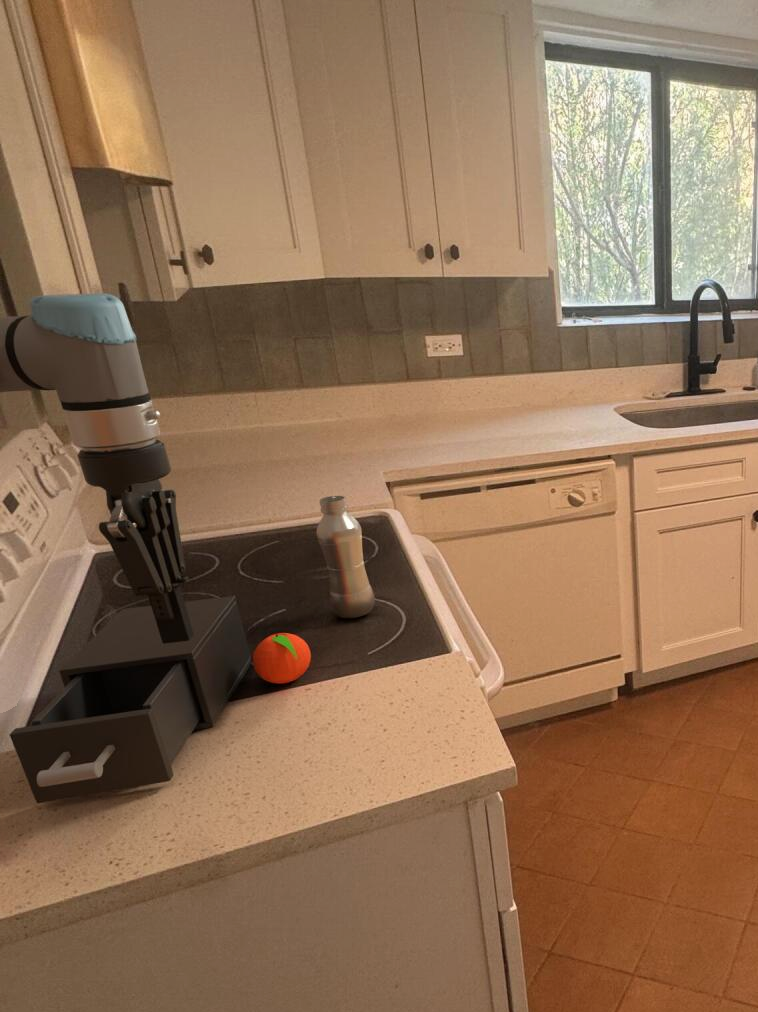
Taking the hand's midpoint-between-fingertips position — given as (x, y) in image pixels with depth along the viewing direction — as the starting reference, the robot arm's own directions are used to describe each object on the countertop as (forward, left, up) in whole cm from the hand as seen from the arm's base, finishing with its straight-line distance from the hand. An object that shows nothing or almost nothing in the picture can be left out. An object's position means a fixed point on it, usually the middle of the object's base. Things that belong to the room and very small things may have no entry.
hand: (178, 639), depth 92 cm
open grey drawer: (0, -8, -13) cm, 15 cm away
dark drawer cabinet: (-13, 0, -14) cm, 19 cm away
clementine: (-7, +12, -14) cm, 19 cm away
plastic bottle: (-22, +27, -14) cm, 37 cm away
